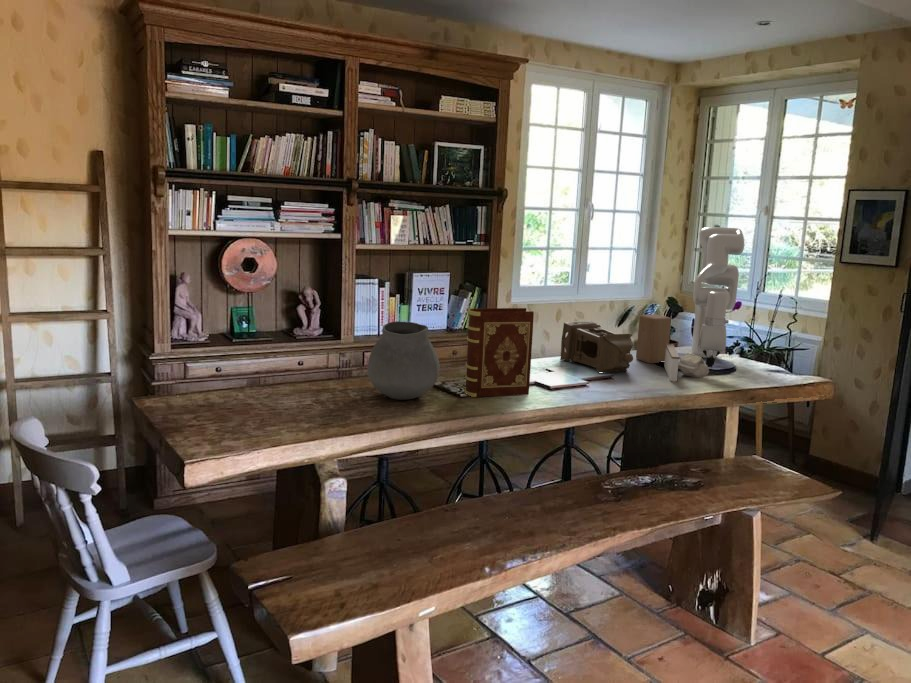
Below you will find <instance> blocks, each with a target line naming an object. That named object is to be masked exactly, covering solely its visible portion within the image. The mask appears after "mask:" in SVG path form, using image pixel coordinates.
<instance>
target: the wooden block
mask: <svg viewBox="0 0 911 683" xmlns="http://www.w3.org/2000/svg"><path fill="white" fill-rule="evenodd" d="M638 320H639V321H638V329H637V330H638V331H637V342H636V352H635V353H636V354H635V358H636V359H637V360H638V361H642V362H644V363H647V364H660V363H659V362H661V361H665V353H666V344H670V334H671V326H672V318H671V317H669V316H665V315H662V314H657V313H653V314H641V315H639V319H638Z"/></svg>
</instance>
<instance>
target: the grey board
mask: <svg viewBox="0 0 911 683" xmlns="http://www.w3.org/2000/svg"><path fill="white" fill-rule="evenodd" d="M680 358H681V357H680V355H679V353H678V351H677V349H676V347H675V345H674V344H673V343H669V344H666V353H665V362H663V365H664V366H663V367H664V369H665V372H666V374H667V378H668V379H669V381H670V382H677V381H678V380H677V379H678V370H679V368H678V363H679V361H680Z"/></svg>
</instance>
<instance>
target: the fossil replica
mask: <svg viewBox="0 0 911 683" xmlns="http://www.w3.org/2000/svg"><path fill="white" fill-rule="evenodd" d="M678 370H679V371H681V373H682V375H683V376H686V377H692V378H696V379H700V378H704V377H707V376H708V375H709V373H710V369H709V367H708V366H707V365H706V362H705V360H704V358H702V357H698V356H691V355H688V354H684V355H683V356H681V357H680V359H679V363H678Z"/></svg>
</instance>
